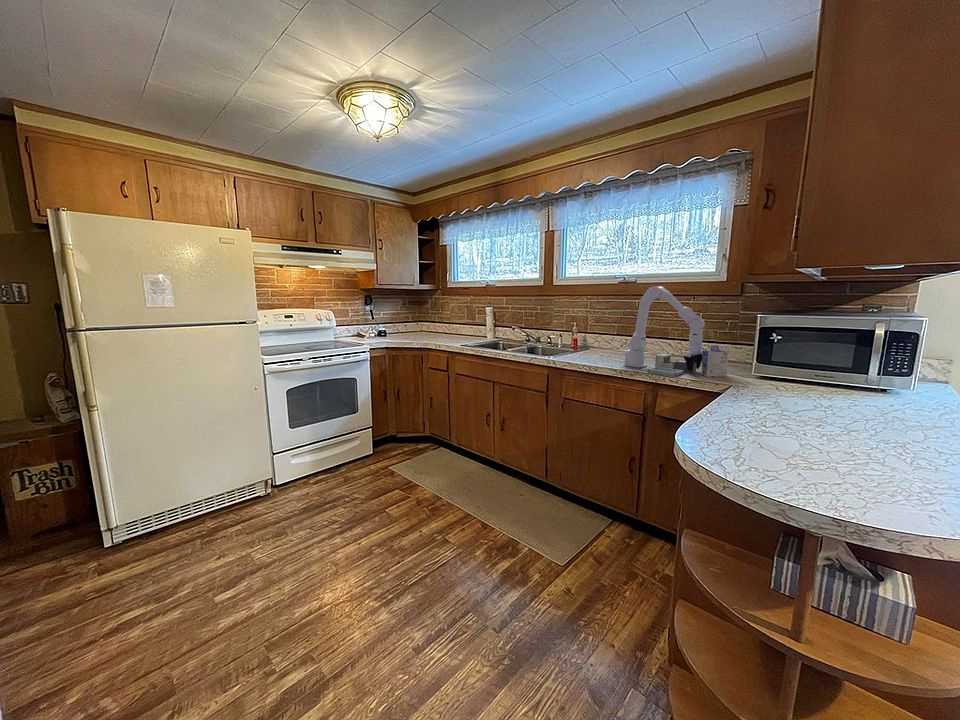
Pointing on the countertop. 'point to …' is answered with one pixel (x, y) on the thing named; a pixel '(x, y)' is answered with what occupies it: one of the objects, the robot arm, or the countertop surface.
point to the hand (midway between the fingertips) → (693, 369)
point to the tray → (665, 371)
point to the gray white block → (684, 366)
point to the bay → (664, 361)
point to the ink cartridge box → (714, 362)
